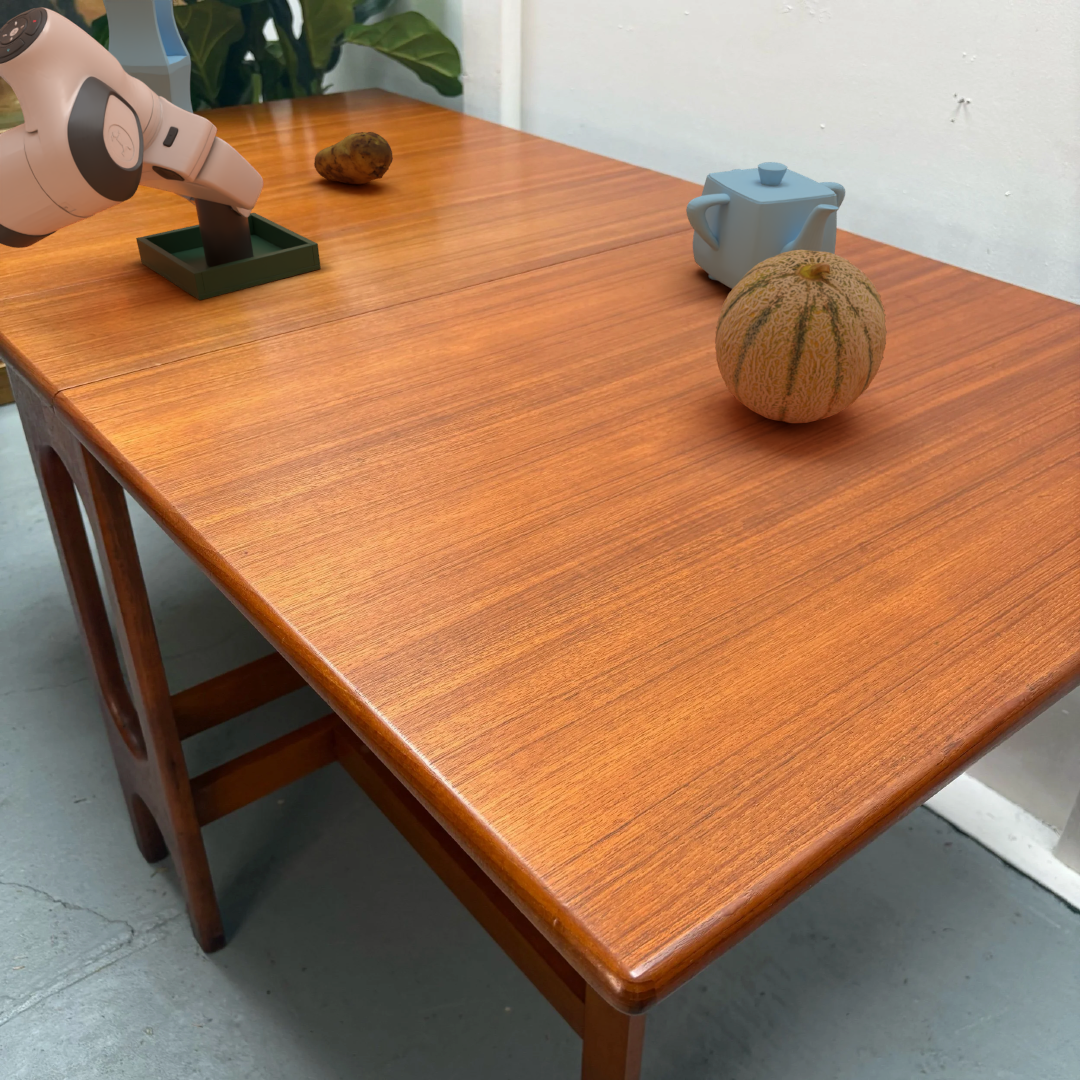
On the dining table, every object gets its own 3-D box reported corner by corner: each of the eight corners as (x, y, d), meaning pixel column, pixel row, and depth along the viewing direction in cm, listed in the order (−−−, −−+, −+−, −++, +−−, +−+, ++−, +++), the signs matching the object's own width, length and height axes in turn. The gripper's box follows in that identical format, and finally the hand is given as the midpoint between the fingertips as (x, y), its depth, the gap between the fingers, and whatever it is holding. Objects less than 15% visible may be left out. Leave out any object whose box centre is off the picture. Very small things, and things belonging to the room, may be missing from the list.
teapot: (662, 291, 117) (672, 171, 109) (716, 249, 129) (728, 138, 121) (817, 324, 110) (839, 197, 102) (859, 276, 121) (882, 160, 114)
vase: (182, 147, 168) (150, -25, 154) (124, 145, 169) (87, -27, 154) (203, 132, 176) (174, -32, 162) (147, 131, 177) (114, -34, 162)
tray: (199, 300, 114) (194, 273, 112) (141, 263, 123) (135, 237, 122) (320, 268, 122) (317, 243, 120) (257, 236, 132) (254, 212, 130)
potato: (358, 171, 157) (353, 116, 152) (403, 191, 149) (399, 133, 144) (310, 180, 153) (303, 124, 148) (354, 201, 144) (348, 142, 140)
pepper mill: (219, 272, 119) (199, 159, 112) (198, 260, 123) (177, 149, 115) (262, 262, 122) (246, 151, 115) (240, 250, 126) (222, 141, 118)
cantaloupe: (808, 366, 101) (834, 214, 92) (904, 433, 90) (944, 268, 81) (676, 391, 96) (690, 234, 87) (761, 465, 85) (787, 293, 76)
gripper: (63, 148, 111) (153, 215, 123) (194, 176, 102) (277, 245, 114) (87, 97, 111) (174, 169, 124) (220, 121, 103) (300, 195, 115)
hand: (225, 206), depth 119 cm, fingers closed on pepper mill, 5 cm apart
